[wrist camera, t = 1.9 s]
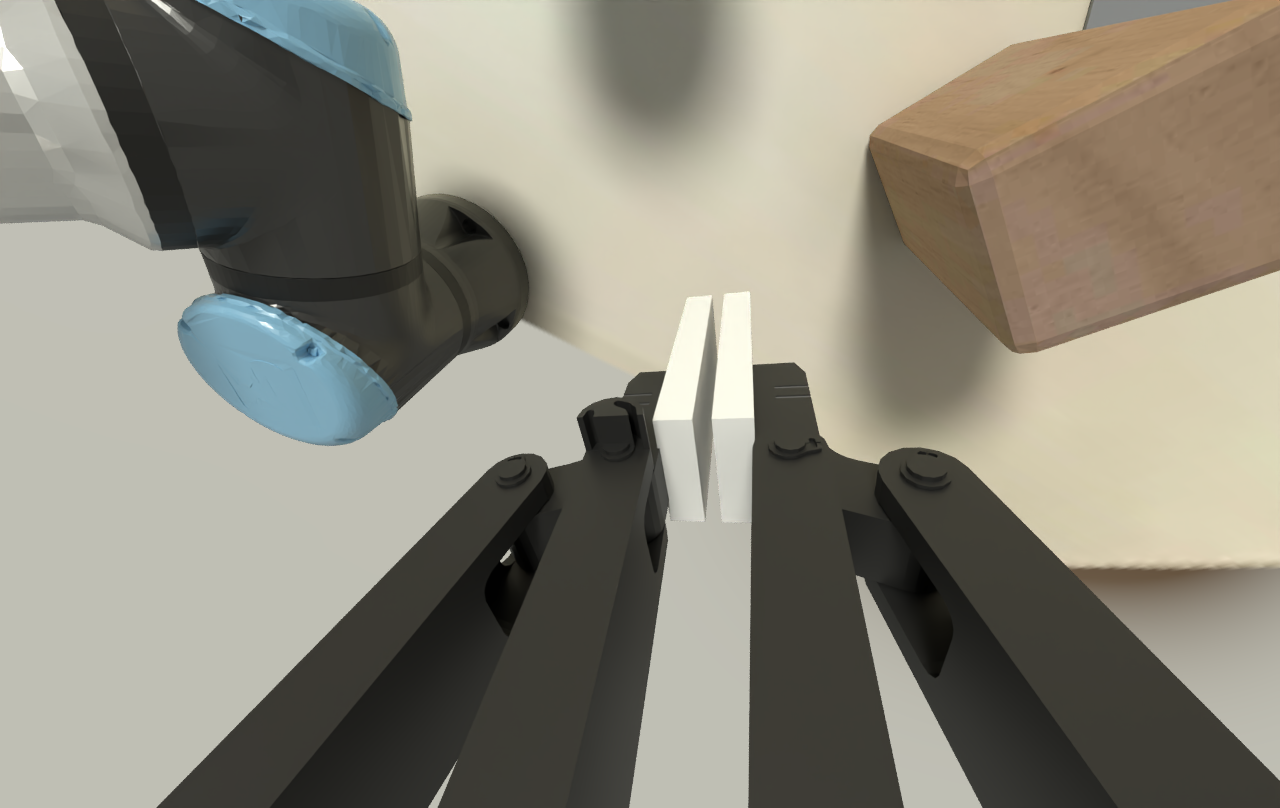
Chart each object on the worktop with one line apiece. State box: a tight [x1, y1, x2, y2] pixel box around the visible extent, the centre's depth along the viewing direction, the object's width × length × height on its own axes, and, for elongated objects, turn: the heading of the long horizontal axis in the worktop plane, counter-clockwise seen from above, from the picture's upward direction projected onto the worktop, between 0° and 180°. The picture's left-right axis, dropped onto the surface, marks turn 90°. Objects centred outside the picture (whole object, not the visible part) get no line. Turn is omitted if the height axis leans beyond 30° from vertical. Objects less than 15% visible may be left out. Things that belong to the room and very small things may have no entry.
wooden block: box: [869, 0, 1280, 354], centre depth 25 cm, size 10×10×20 cm
